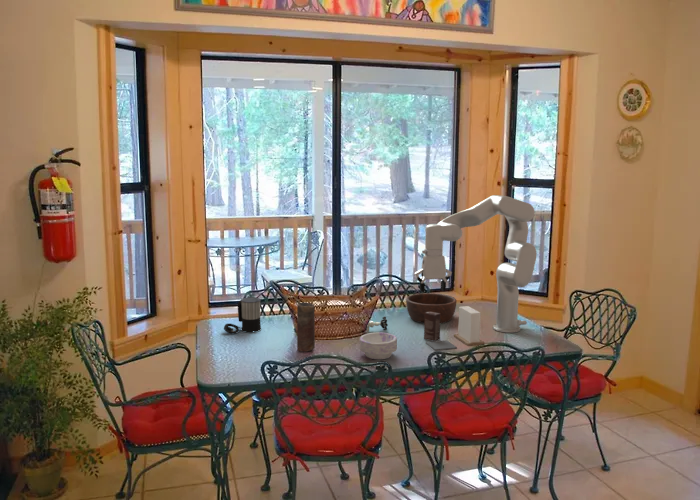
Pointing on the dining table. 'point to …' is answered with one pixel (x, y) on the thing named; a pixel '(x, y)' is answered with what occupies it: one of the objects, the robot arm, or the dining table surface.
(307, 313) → the candle
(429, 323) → the box
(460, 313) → the mounted unit
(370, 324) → the valve
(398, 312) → the dining table surface
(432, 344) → the slate mat
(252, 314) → the milk frother
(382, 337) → the white bowl
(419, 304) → the wooden bowl
